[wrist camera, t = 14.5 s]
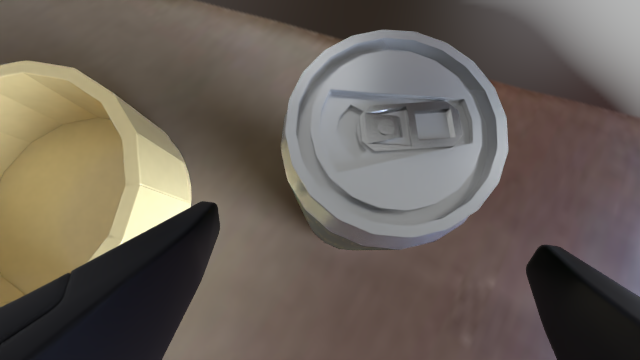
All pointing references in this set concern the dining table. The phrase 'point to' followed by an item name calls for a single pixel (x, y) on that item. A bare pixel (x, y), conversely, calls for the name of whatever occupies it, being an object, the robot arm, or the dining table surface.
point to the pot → (75, 174)
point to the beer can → (392, 141)
